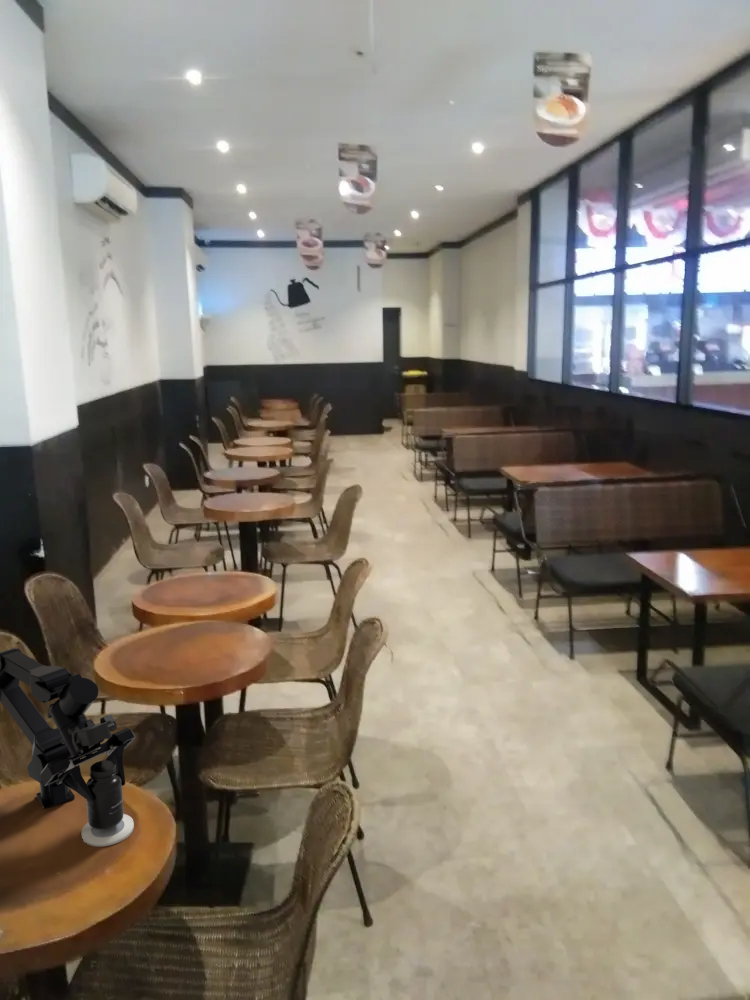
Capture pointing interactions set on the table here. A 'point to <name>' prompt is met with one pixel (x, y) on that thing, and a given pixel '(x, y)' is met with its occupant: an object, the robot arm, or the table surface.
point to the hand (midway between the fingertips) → (108, 793)
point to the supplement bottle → (105, 796)
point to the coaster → (108, 833)
